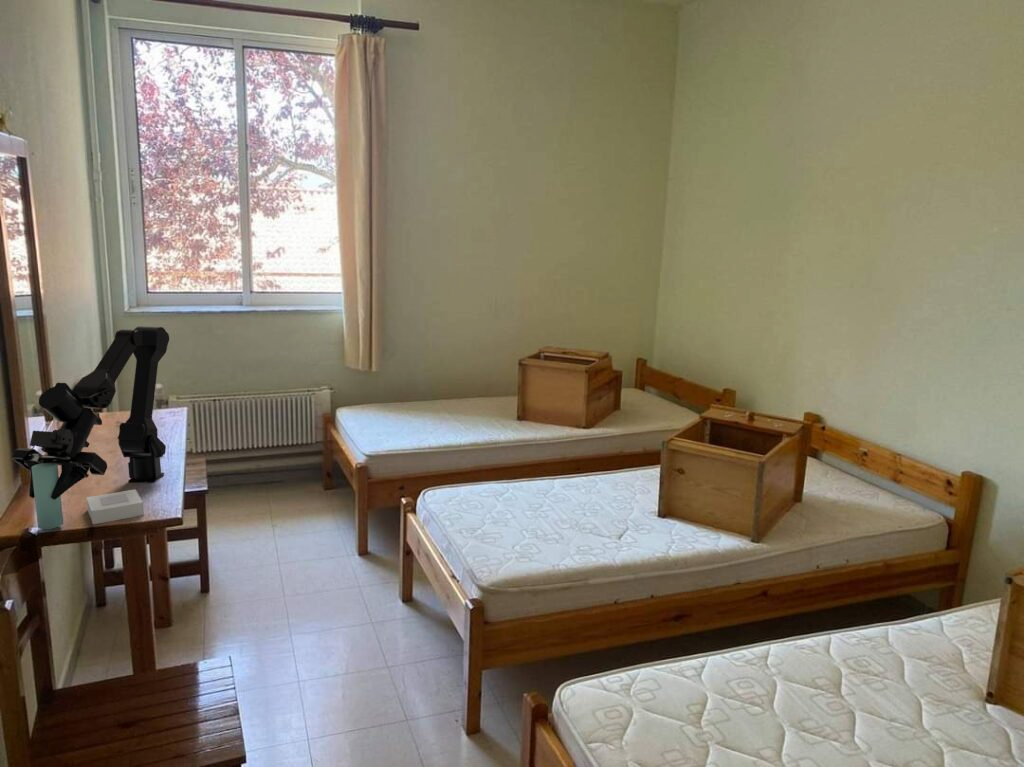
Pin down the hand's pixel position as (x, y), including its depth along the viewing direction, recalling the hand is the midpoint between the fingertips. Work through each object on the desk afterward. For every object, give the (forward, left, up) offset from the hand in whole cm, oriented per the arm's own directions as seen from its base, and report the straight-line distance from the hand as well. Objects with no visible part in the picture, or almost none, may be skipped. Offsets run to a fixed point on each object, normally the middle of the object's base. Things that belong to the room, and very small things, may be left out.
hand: (42, 498), depth 152 cm
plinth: (-9, -11, -7) cm, 16 cm away
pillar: (0, -1, -7) cm, 7 cm away
